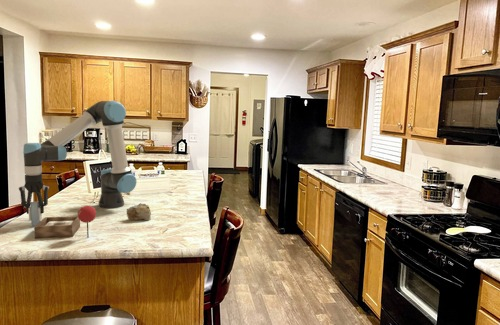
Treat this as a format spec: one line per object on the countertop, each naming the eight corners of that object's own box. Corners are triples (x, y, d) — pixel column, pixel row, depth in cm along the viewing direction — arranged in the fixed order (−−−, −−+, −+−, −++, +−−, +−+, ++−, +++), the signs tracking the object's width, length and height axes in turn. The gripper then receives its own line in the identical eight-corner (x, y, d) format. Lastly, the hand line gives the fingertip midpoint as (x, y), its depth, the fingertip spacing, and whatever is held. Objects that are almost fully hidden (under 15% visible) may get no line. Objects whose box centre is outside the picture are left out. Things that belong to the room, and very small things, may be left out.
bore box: (80, 226, 192) (79, 216, 192) (72, 236, 177) (72, 225, 176) (45, 228, 189) (45, 217, 188) (34, 238, 173) (34, 226, 173)
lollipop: (82, 235, 180) (81, 204, 178) (98, 234, 180) (98, 204, 179) (76, 240, 172) (75, 208, 170) (93, 240, 173) (92, 208, 171)
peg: (41, 224, 195) (40, 201, 193) (39, 226, 191) (37, 203, 189) (33, 224, 194) (31, 201, 193) (30, 226, 190) (29, 203, 189)
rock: (154, 215, 213) (147, 199, 210) (152, 220, 207) (145, 203, 204) (133, 221, 213) (127, 205, 210) (130, 226, 207) (124, 210, 204)
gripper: (54, 172, 195) (55, 217, 198) (17, 173, 191) (19, 218, 194) (49, 175, 187) (51, 221, 190) (11, 175, 184) (14, 222, 187)
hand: (35, 219), depth 192 cm, fingers closed on peg, 4 cm apart
